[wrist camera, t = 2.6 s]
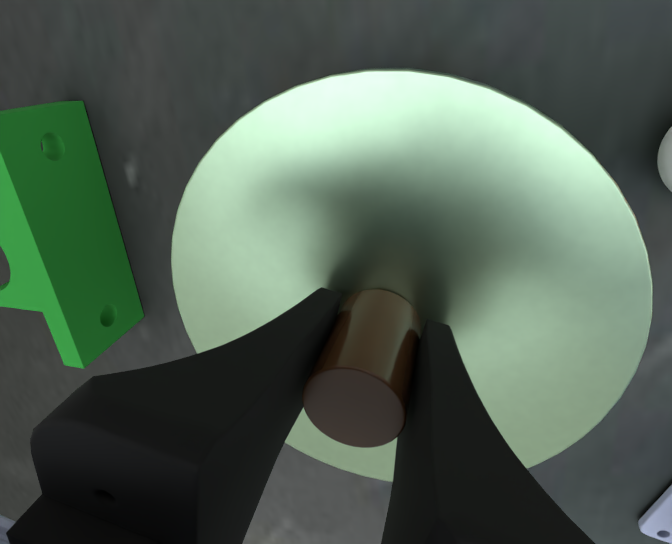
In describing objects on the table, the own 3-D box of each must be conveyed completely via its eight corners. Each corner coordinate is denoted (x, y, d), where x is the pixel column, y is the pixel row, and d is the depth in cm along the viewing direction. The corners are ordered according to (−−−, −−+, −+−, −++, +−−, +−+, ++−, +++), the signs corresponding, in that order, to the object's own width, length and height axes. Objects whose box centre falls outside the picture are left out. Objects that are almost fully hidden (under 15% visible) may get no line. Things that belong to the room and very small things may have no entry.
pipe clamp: (17, 101, 20) (-93, 115, 16) (85, 100, 19) (-14, 114, 15) (88, 310, 25) (18, 359, 21) (145, 317, 24) (82, 370, 20)
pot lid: (765, 138, 9) (972, 210, 5) (521, 506, 16) (537, 654, 12) (190, 15, 11) (44, 3, 7) (188, 390, 18) (112, 486, 14)
